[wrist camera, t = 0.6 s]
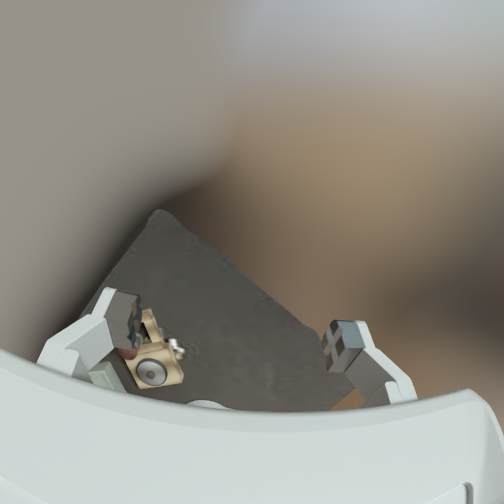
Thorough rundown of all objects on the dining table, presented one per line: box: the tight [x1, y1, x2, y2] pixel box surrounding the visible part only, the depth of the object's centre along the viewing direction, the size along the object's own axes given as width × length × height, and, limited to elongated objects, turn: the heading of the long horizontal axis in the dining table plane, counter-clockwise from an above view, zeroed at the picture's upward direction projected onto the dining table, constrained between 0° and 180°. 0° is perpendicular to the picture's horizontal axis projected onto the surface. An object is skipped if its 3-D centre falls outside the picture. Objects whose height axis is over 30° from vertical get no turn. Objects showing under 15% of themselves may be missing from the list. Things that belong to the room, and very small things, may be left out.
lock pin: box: [118, 323, 148, 360], centre depth 57 cm, size 4×4×11 cm
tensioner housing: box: [125, 308, 183, 389], centre depth 60 cm, size 20×12×6 cm, turn 15°
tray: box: [88, 361, 127, 393], centre depth 62 cm, size 16×16×4 cm
